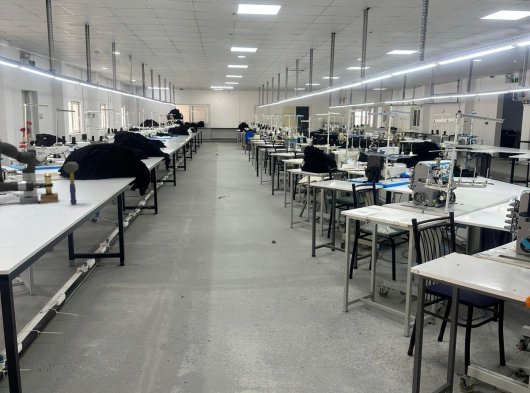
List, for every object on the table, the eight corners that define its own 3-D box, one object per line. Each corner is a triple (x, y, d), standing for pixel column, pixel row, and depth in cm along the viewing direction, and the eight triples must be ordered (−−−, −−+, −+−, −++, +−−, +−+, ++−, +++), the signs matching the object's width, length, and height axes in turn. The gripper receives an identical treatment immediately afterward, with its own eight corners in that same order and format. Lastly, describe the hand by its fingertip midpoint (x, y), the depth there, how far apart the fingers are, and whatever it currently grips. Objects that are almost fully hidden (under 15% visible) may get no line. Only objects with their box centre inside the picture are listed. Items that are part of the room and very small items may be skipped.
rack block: (41, 200, 315) (41, 193, 314) (58, 199, 319) (57, 192, 319) (40, 203, 304) (40, 196, 303) (58, 202, 309) (57, 195, 308)
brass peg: (46, 198, 312) (44, 173, 309) (52, 198, 314) (50, 173, 311) (46, 199, 309) (44, 174, 306) (52, 199, 310) (50, 174, 307)
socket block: (21, 201, 309) (20, 196, 309) (38, 200, 314) (38, 195, 313) (19, 204, 299) (19, 198, 298) (37, 203, 303) (37, 197, 303)
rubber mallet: (76, 206, 297) (74, 162, 292) (65, 206, 296) (62, 162, 290) (81, 202, 309) (78, 160, 304) (70, 202, 308) (67, 160, 302)
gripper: (24, 182, 297) (52, 181, 304) (26, 179, 309) (52, 178, 317) (25, 192, 298) (52, 191, 305) (26, 189, 311) (53, 188, 318)
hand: (52, 184), depth 311 cm, fingers closed on brass peg, 4 cm apart
